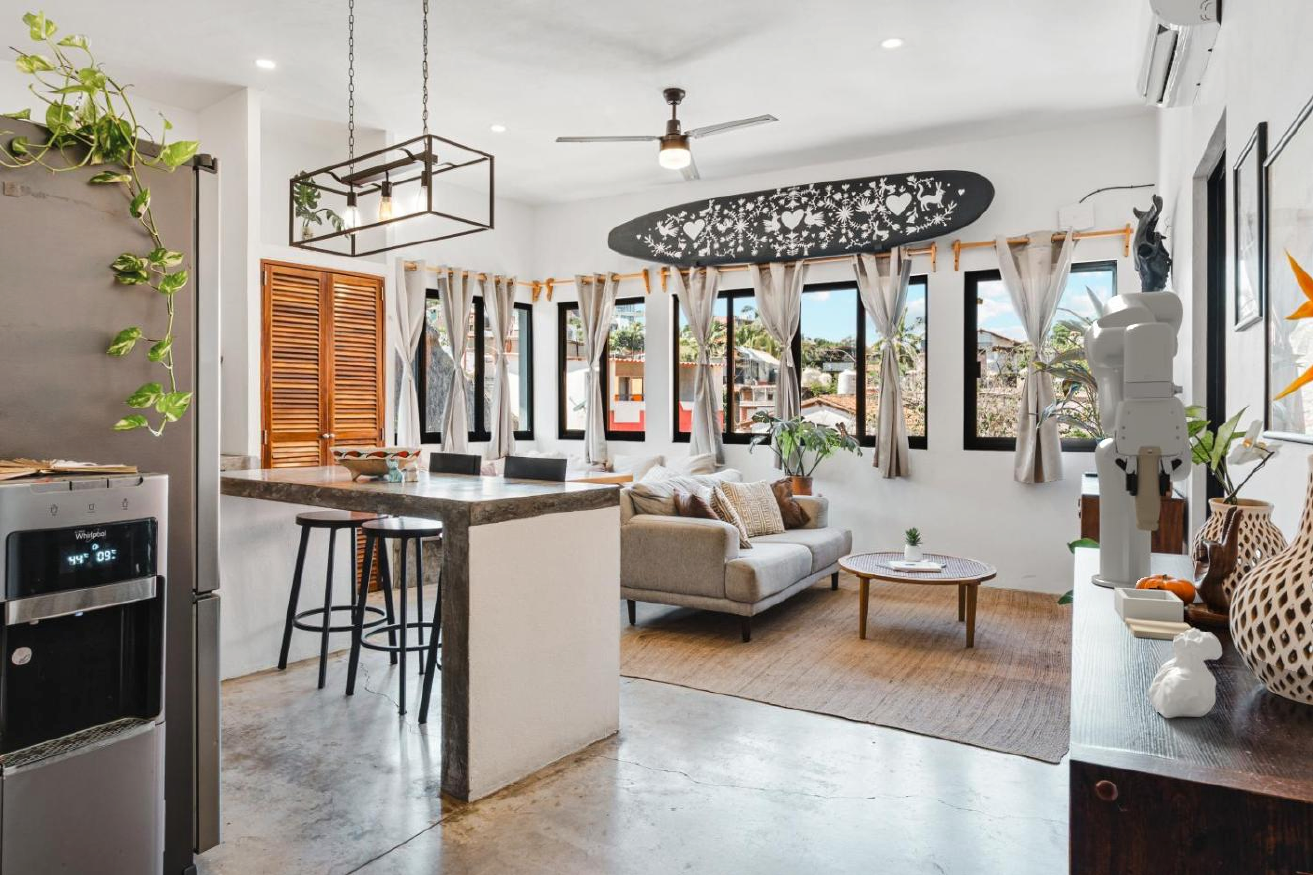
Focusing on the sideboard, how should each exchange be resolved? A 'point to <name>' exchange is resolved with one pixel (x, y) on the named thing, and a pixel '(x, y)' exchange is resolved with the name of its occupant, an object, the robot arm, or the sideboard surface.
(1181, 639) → the white tied sack
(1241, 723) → the sideboard surface
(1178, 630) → the oak board
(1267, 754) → the sideboard surface
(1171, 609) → the white open box
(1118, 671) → the sideboard surface
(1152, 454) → the handle
